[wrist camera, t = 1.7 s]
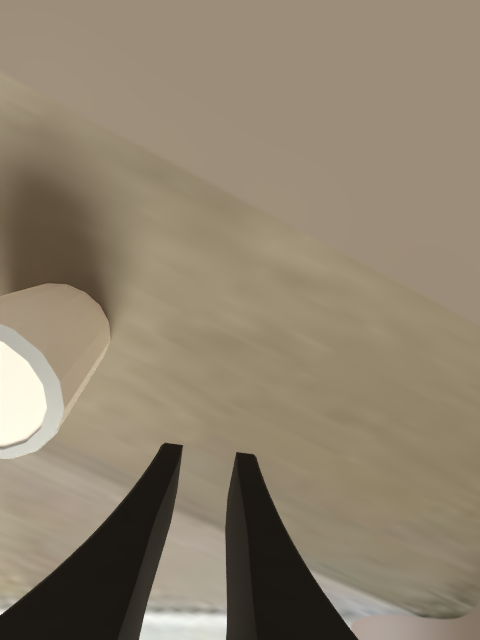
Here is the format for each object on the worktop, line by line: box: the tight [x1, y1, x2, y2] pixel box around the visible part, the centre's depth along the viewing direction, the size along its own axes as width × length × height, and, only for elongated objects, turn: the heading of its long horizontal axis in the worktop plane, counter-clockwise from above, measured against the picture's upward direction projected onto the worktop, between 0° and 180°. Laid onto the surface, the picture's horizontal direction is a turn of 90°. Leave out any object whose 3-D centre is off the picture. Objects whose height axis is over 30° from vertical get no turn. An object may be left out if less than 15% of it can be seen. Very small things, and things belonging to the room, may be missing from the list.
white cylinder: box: [0, 283, 111, 459], centre depth 16 cm, size 7×7×7 cm
